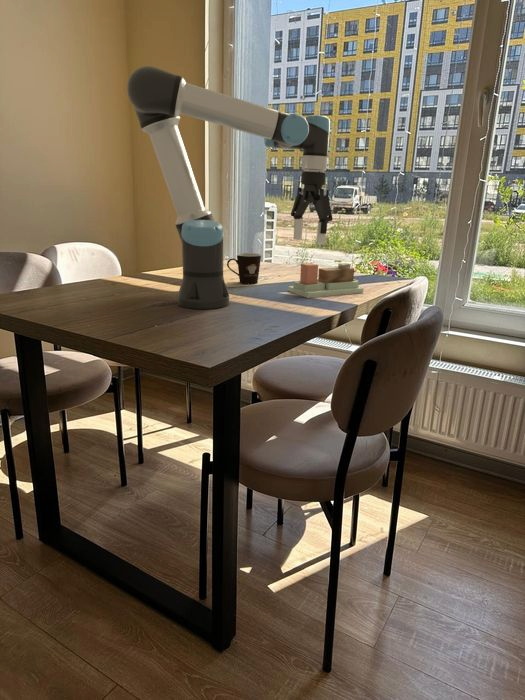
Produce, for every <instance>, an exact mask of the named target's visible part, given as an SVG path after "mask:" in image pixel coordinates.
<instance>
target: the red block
mask: <svg viewBox="0 0 525 700" xmlns="http://www.w3.org/2000/svg"><path fill="white" fill-rule="evenodd" d="M318 275H319V264H317V263H313V262H305V263H301V264H300V278H299V281H300V283H302V284H305V285H310V284H317V279H318Z"/></svg>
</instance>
